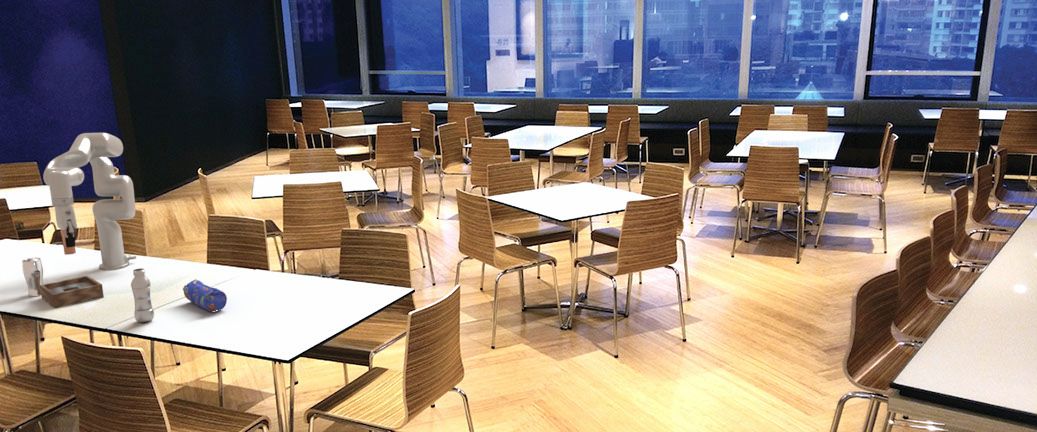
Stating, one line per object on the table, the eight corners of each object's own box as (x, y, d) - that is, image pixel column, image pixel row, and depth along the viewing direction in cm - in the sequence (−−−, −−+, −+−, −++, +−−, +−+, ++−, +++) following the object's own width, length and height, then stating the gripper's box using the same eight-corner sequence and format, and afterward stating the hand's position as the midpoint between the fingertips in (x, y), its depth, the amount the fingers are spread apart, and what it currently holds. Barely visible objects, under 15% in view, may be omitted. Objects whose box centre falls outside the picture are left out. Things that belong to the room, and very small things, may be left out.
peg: (73, 251, 320) (69, 222, 317) (77, 253, 317) (73, 224, 315) (63, 253, 317) (59, 224, 315) (66, 255, 314) (62, 226, 312)
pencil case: (183, 303, 312) (180, 280, 310) (204, 297, 318) (202, 275, 316) (207, 315, 297) (205, 291, 295) (229, 310, 303) (226, 286, 301)
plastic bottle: (139, 318, 295) (132, 267, 290) (157, 317, 295) (151, 267, 291) (132, 324, 288) (125, 272, 284) (151, 323, 289) (144, 272, 284)
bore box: (89, 287, 333) (87, 275, 331) (103, 297, 320) (102, 284, 319) (41, 298, 320) (39, 285, 319) (54, 308, 308) (52, 294, 306)
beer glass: (50, 293, 327) (45, 258, 323) (34, 298, 320) (28, 262, 317) (39, 291, 329) (34, 256, 326) (23, 295, 323) (17, 261, 320)
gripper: (79, 202, 310) (86, 247, 313) (66, 197, 321) (72, 240, 325) (58, 205, 304) (65, 251, 308) (45, 200, 316) (52, 244, 320)
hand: (68, 245), depth 317 cm, fingers closed on peg, 4 cm apart
